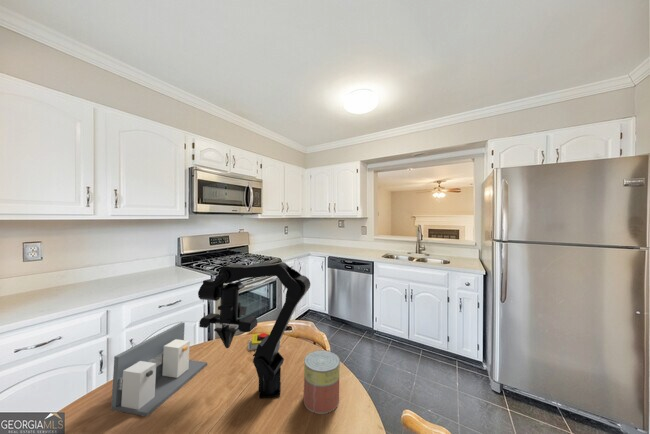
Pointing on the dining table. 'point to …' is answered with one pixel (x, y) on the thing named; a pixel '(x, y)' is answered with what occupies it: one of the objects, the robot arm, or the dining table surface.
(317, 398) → the canned food
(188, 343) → the breaker module
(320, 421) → the dining table surface
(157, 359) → the steel rail
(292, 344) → the dining table surface
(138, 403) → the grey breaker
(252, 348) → the emergency button
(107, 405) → the dining table surface
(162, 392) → the mounting board
